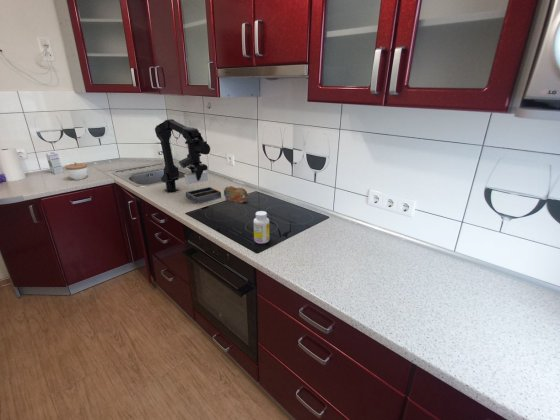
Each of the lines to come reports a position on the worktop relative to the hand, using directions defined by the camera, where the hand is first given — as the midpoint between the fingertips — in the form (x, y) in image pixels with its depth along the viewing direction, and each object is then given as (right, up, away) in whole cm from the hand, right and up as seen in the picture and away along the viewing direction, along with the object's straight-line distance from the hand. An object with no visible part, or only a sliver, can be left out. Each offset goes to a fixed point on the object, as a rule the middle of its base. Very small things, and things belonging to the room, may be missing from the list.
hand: (197, 180), depth 169 cm
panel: (0, -1, 0) cm, 1 cm away
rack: (+2, -10, +7) cm, 12 cm away
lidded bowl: (-92, +5, +38) cm, 100 cm away
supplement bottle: (+39, -30, -40) cm, 64 cm away
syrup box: (-116, +10, +49) cm, 126 cm away
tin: (+22, -12, +3) cm, 25 cm away
